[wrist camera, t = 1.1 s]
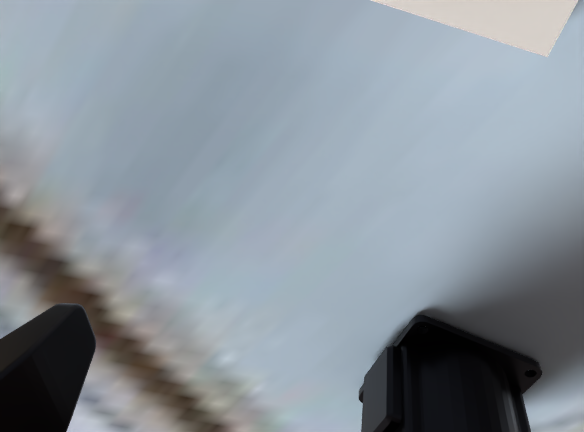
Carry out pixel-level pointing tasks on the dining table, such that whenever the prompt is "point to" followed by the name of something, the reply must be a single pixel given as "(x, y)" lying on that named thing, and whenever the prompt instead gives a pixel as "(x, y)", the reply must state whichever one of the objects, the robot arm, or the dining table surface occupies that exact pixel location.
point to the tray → (498, 19)
